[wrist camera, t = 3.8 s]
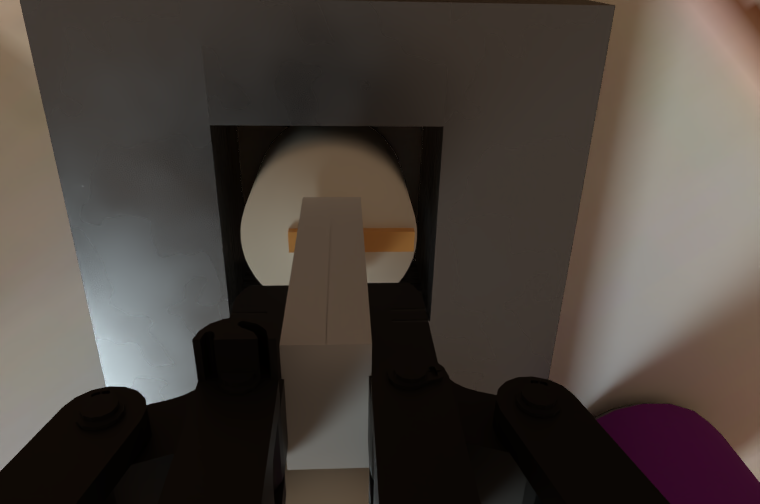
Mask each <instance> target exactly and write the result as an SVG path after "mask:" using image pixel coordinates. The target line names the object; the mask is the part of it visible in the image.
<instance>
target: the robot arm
mask: <svg viewBox="0 0 760 504" xmlns="http://www.w3.org/2000/svg"><path fill="white" fill-rule="evenodd" d="M192 343H193V350H194V357H195V364H196V372H197V379H198V383H197V386H196V389H195V390H193V391H191V392H189V393H187V394H185V395H182V396H179V397H176V398H173V399H169V400H165V401H161V402H156V403H152V404H148V405H146V399H145V397H144V396H143V395H142V394H141V393H140V392H139V391H137V390H134V389H131V388H128V387H116V386H109V387H104V388H100V389H95V390H91V391H89V392H87V393H85V394H82V395H80V396H78V397H76V398H74V399H73V400H72V401H70V402H69V403H68V404H66V405H65V406H64V407H63V408H61V410H60V411H59V412H58V413H57V414H56V415H55V416H54V417H53V418H52V419H51V420H50V421H49V422H48V423H47V424H46V425H45V426H44V427H43V428H42V429H41V430H40V431H39V432H38V433H37V434H36V435H35V436H34V437H33V438H32V439H31V440H30V441H29V442H28V443H27V444H26V446H25V447H24V448H23V449H22V450H21V451H20V452H19V453H18V454H17V455H16V456H15V457H14V458H13V459H12V460H11V461H10V462H9V463H8V464H7V465H6V466H5V467H4V468H3V469H2V470H1V471H0V504H285V502H286V483H285V467H286V458H287V470H303V469H339V468H369V504H670V503H669V501H668V500H667V499H666V498H665V497H664V496H663V495H662V494H661V492H660V491H659V490H658V489H657V488H656V487H655V486H654V485H653V483H652V482H651V481H650V480H649V479H648V478H647V477H646V476H645V474H644V473H643V472H642V471H641V470H640V469H639V468H638V467H637V465H636V464H635V463H634V462H633V461H632V460H631V459H630V458H629V456H628V455H627V454H626V453H625V452H624V451H623V450H622V449H621V447H620V446H619V445H618V444H617V443H616V442H615V441H614V440H613V438H612V437H611V436H610V435H609V434H608V433H607V432H606V431H605V429H604V428H603V427H602V426H601V425H600V424H599V423H598V422H597V420H596V419H595V418H594V417H593V416H592V415H591V414H590V413H589V411H588V410H587V409H586V408H585V407H584V406H583V405H582V404H581V402H580V401H579V400H578V399H577V398H576V397H575V396H574V395H573V394H572V393H571V392H570V391H568V390H567V389H566V388H565V387H563V386H562V385H559V384H557V383H555V382H553V381H551V380H548V379H543V378H538V377H533V376H530V377H517V378H514V379H511V380H508V381H506V382H505V383H504V384H503V385H501V386H500V387H499V388H498V391H497V395H494V394H489V393H484V392H479V391H475V390H472V389H468V388H465V387H463V386H461V385H459V384H457V383H455V382H453V381H452V380H451V379H450V378H449V375H448V373H447V372H446V370H445V368H444V367H443V366H442V365H440V364H439V363H438V361H437V356H436V352H435V348H434V343H433V339H432V335H431V331H430V326H429V322H428V318H427V313H426V311H425V305H424V301H423V296H422V294H421V293H420V292H419V291H418V290H417V289H416V288H415V287H414V286H413V285H412V284H411V283H367V272H366V259H365V246H364V233H363V220H362V207H361V197H303V199H302V205H301V211H300V218H299V224H298V230H297V237H296V243H295V250H294V256H293V262H292V269H291V275H290V281H289V285H275V286H248V287H247V288H246V289H245V290H244V291H242V292H241V293H240V294H239V295H238V296H237V297H236V298H235V301H234V304H233V307H232V311H231V315H230V317H229V318H226V319H222V320H219V321H216V322H213V323H210V324H209V325H207V326H205V327H204V328H202V329H201V330H199V331H198V332H197V334H196V335H195V337H194V338H193V339H192Z"/></svg>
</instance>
